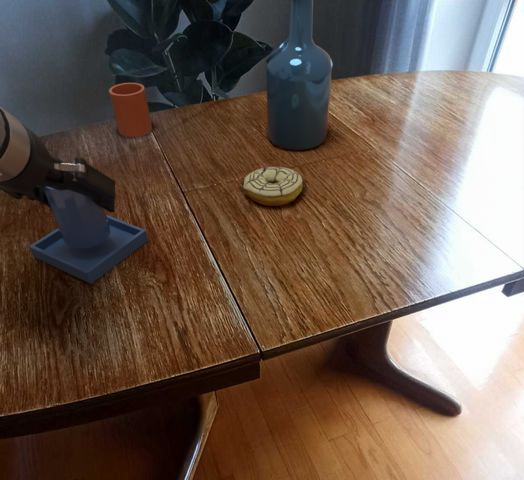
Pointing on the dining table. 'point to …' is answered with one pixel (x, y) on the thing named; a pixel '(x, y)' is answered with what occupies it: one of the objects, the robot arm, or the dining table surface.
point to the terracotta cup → (131, 109)
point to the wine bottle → (298, 85)
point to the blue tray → (90, 251)
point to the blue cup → (78, 218)
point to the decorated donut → (273, 185)
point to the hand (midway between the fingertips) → (86, 203)
